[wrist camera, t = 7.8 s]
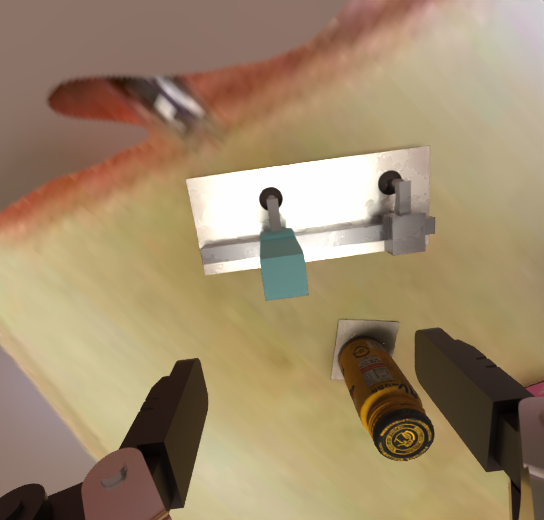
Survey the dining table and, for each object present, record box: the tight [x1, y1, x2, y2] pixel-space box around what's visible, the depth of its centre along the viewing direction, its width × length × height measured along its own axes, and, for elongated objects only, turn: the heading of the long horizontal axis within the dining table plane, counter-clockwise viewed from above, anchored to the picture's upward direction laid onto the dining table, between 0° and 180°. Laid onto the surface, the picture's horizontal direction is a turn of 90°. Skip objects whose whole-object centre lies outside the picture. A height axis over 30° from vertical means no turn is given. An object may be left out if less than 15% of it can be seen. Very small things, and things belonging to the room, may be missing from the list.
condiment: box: [331, 320, 434, 461], centre depth 30 cm, size 7×8×12 cm
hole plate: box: [186, 146, 435, 275], centre depth 28 cm, size 24×10×6 cm, turn 97°
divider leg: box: [260, 195, 309, 301], centre depth 24 cm, size 3×7×11 cm, turn 8°
